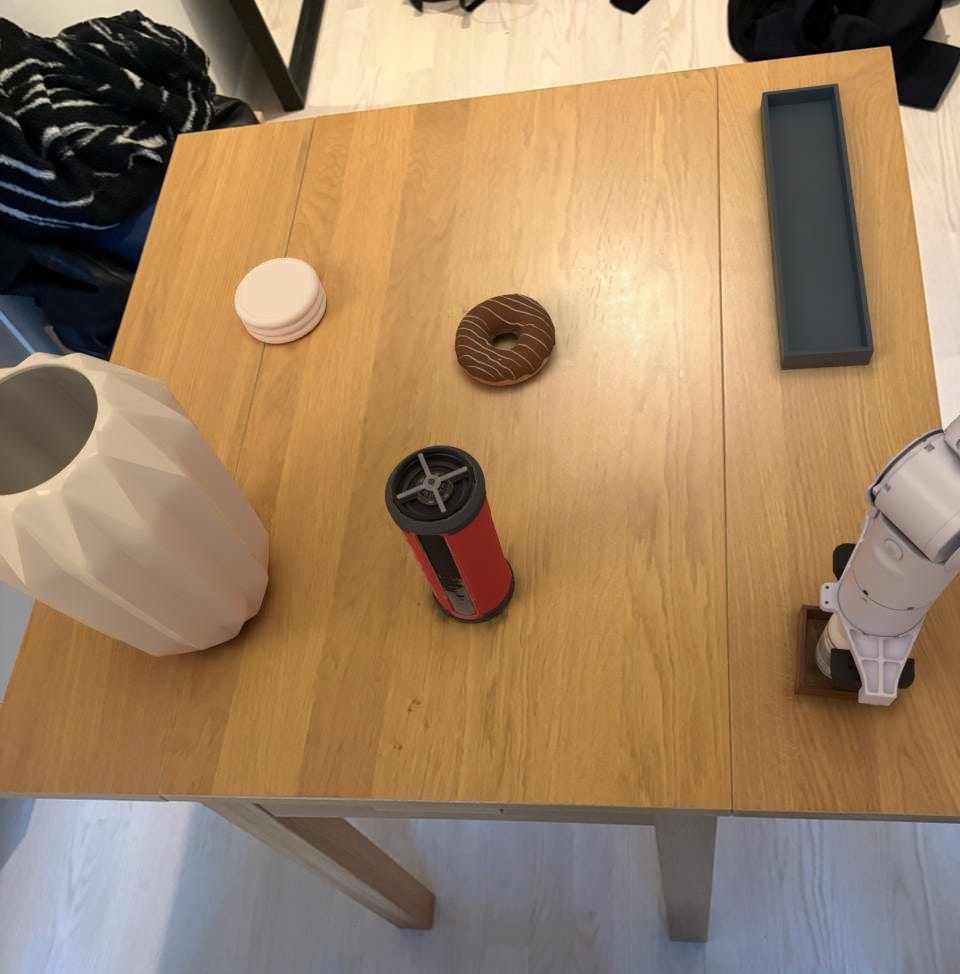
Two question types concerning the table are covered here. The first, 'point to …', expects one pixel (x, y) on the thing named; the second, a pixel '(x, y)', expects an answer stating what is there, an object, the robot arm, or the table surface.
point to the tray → (813, 231)
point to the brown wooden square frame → (801, 687)
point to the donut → (497, 319)
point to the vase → (122, 508)
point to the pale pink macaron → (280, 300)
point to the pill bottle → (829, 644)
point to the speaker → (451, 531)
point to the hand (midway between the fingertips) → (850, 646)
